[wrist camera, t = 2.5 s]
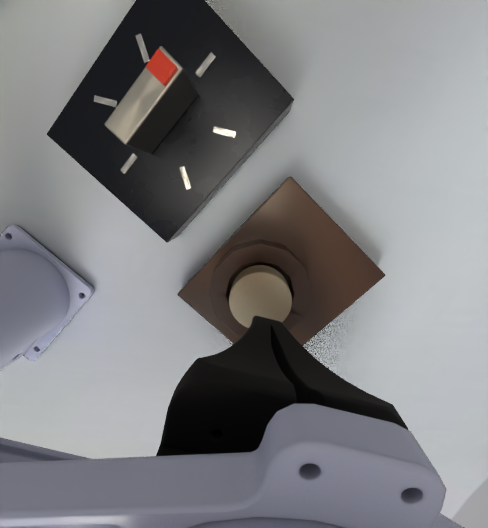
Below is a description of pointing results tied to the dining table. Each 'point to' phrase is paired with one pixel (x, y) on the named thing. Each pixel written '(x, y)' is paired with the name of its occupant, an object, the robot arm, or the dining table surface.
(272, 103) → the dimmer
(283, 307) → the lamp button
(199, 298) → the lamp switch
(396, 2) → the dining table surface
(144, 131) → the dimmer knob
